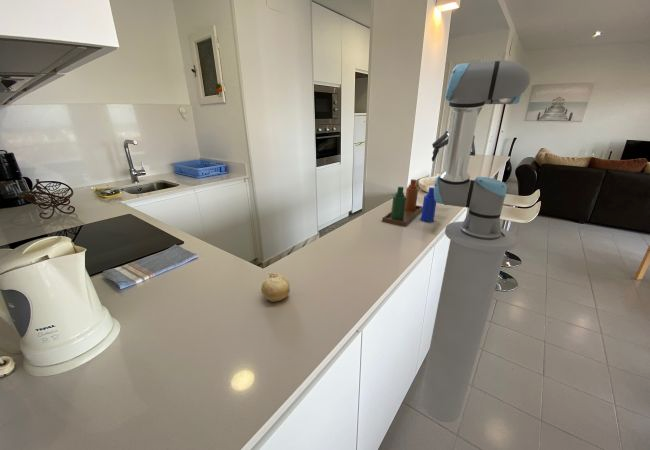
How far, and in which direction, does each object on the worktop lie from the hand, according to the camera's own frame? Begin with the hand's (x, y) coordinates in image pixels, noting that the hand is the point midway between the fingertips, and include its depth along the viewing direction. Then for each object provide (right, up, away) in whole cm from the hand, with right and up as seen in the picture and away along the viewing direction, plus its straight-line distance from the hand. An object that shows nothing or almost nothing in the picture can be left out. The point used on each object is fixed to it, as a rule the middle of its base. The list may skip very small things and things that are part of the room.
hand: (446, 163), depth 134 cm
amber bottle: (-12, -22, +18) cm, 31 cm away
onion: (-73, -51, -55) cm, 104 cm away
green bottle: (-23, -28, +2) cm, 36 cm away
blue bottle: (-8, -28, +4) cm, 29 cm away
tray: (-18, -25, +10) cm, 33 cm away
